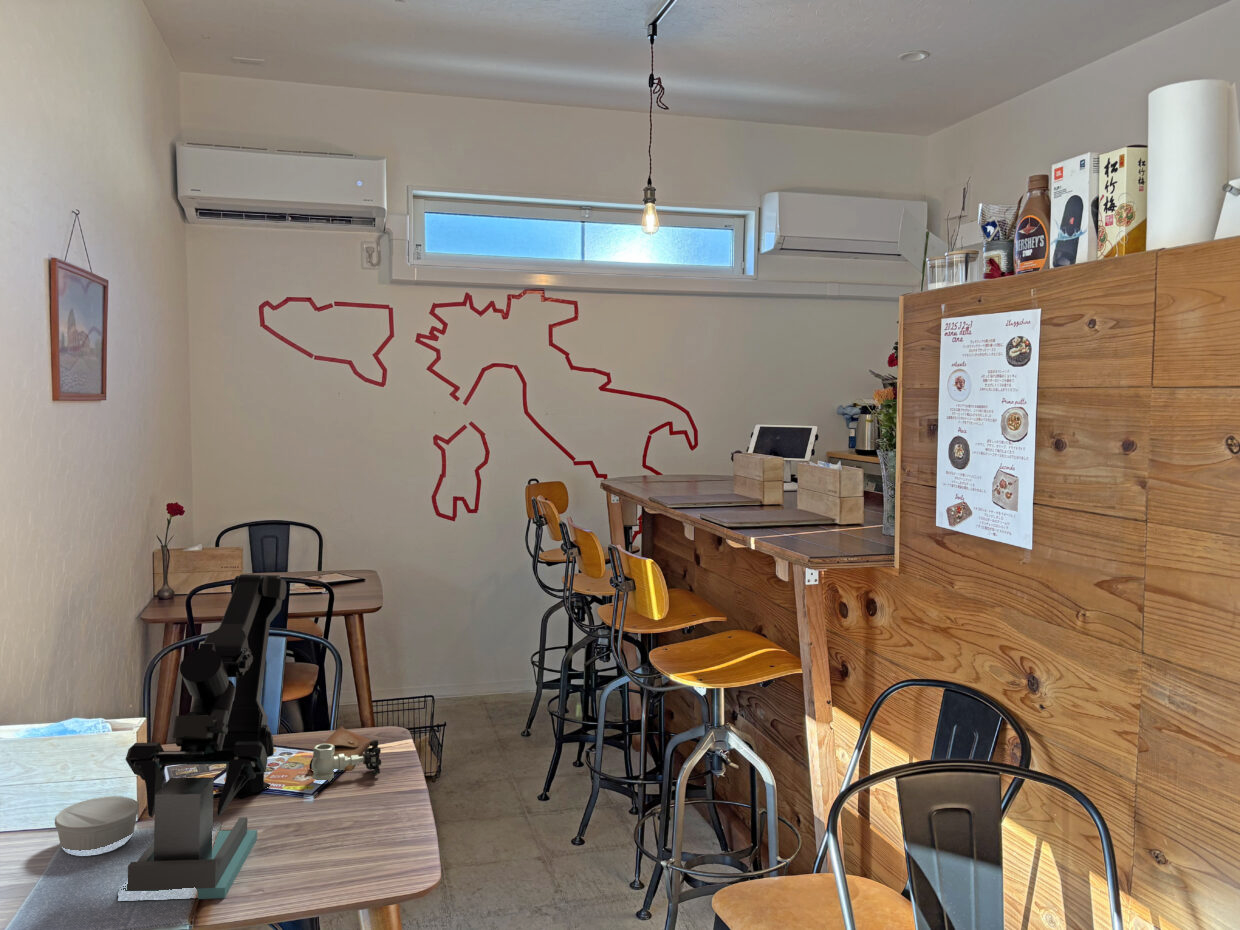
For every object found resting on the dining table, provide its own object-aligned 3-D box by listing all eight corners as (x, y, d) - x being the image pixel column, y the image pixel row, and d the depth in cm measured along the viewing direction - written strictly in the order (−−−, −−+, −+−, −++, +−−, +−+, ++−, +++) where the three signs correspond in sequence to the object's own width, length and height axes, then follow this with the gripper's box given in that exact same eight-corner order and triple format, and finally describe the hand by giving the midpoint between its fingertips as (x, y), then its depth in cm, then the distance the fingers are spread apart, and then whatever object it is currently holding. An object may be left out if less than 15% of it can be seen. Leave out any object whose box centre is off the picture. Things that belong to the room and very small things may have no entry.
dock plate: (163, 841, 140) (164, 810, 140) (257, 839, 143) (257, 808, 142) (116, 902, 123) (117, 866, 122) (224, 898, 125) (225, 862, 125)
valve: (314, 790, 163) (380, 780, 168) (315, 754, 162) (381, 745, 168) (308, 776, 168) (372, 767, 174) (309, 742, 168) (374, 734, 174)
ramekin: (40, 862, 133) (41, 827, 132) (74, 829, 144) (74, 796, 144) (121, 859, 134) (122, 825, 134) (148, 826, 145) (149, 795, 145)
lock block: (168, 861, 131) (170, 777, 131) (211, 860, 132) (213, 777, 132) (153, 882, 125) (155, 794, 125) (198, 881, 126) (200, 793, 126)
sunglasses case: (354, 773, 171) (336, 743, 170) (321, 791, 170) (304, 760, 170) (375, 740, 189) (359, 713, 188) (345, 756, 188) (330, 729, 188)
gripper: (131, 689, 131) (98, 794, 121) (265, 689, 134) (243, 791, 124) (150, 724, 140) (120, 825, 129) (275, 723, 142) (256, 822, 132)
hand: (184, 815), depth 128 cm, fingers open, 9 cm apart
